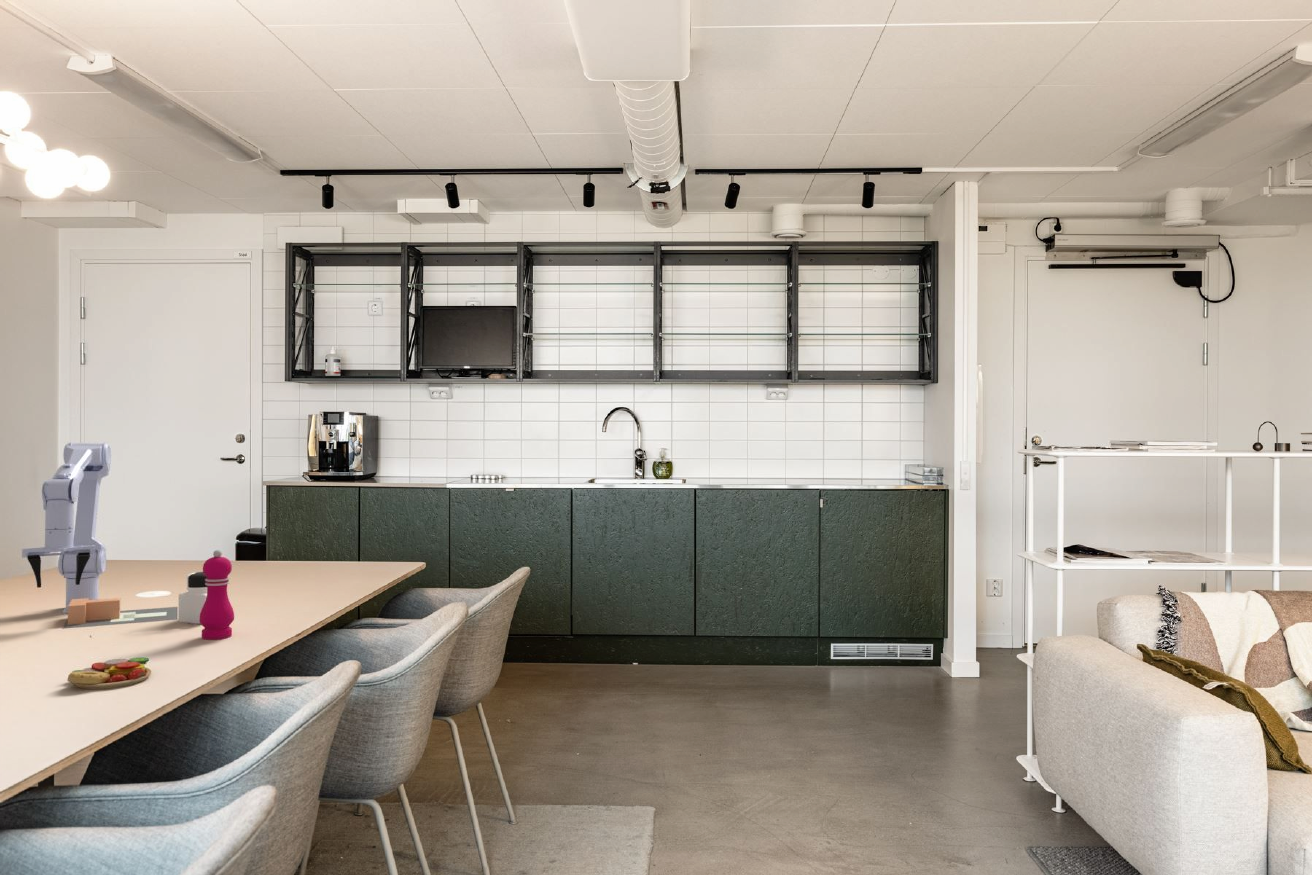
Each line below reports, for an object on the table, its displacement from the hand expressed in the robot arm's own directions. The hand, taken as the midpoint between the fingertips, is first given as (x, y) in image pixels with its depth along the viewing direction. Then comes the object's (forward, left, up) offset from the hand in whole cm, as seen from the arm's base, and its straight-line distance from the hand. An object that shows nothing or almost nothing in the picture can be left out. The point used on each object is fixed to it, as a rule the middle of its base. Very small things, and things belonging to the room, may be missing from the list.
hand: (58, 585), depth 214 cm
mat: (-4, +13, -10) cm, 17 cm away
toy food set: (+59, +14, -10) cm, 61 cm away
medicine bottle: (+7, +30, -10) cm, 33 cm away
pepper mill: (+28, +33, -10) cm, 44 cm away
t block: (-4, +7, -9) cm, 13 cm away
